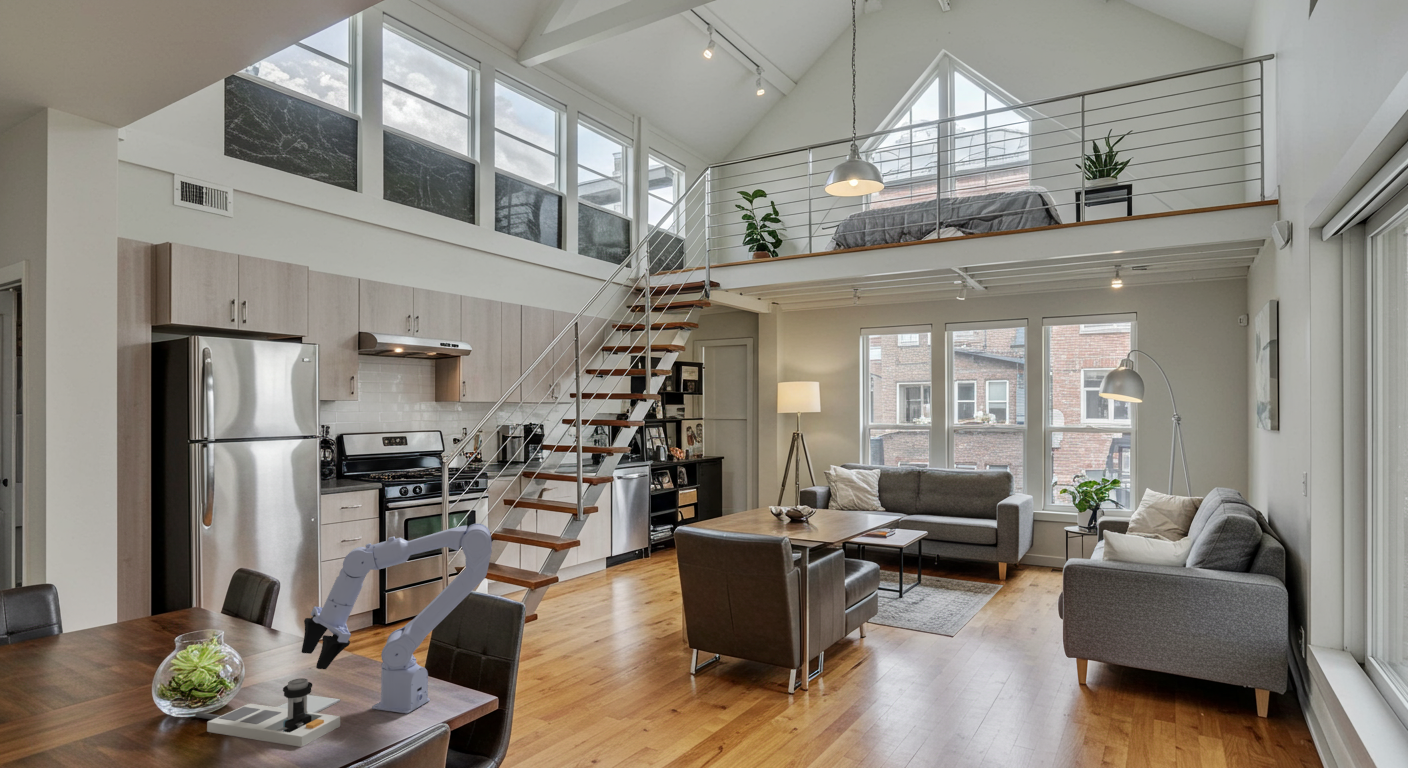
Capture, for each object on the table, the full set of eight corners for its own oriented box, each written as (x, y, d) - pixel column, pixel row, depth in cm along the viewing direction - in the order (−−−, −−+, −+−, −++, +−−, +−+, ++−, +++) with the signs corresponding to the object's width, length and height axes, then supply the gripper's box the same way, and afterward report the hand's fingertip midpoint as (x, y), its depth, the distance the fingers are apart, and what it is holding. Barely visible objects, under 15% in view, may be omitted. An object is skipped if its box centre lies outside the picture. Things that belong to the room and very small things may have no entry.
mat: (340, 701, 169) (340, 699, 169) (305, 718, 159) (305, 716, 159) (304, 696, 172) (304, 694, 172) (267, 713, 162) (267, 711, 162)
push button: (284, 741, 149) (285, 690, 149) (269, 735, 151) (271, 685, 152) (316, 729, 154) (317, 680, 155) (302, 723, 157) (303, 675, 157)
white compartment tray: (340, 726, 156) (340, 713, 156) (301, 746, 146) (302, 733, 146) (217, 707, 165) (217, 696, 165) (173, 726, 155) (174, 713, 155)
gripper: (310, 585, 166) (282, 644, 164) (339, 612, 157) (310, 675, 155) (339, 589, 171) (312, 646, 170) (368, 615, 162) (341, 676, 160)
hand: (313, 660), depth 163 cm, fingers open, 7 cm apart
